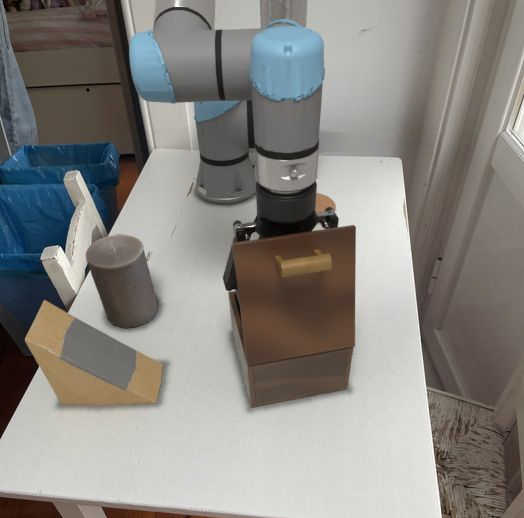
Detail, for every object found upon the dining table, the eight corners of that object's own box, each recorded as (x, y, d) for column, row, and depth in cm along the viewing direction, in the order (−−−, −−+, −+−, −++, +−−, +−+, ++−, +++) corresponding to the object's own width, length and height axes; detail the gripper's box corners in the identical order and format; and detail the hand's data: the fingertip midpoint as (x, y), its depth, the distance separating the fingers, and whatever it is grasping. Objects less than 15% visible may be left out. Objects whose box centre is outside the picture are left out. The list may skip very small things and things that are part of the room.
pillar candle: (105, 331, 87) (79, 264, 76) (108, 296, 94) (85, 230, 83) (159, 324, 88) (141, 257, 77) (158, 290, 95) (142, 224, 84)
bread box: (232, 334, 86) (228, 291, 79) (317, 319, 88) (320, 276, 81) (250, 408, 75) (247, 366, 68) (347, 389, 77) (353, 347, 70)
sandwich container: (157, 404, 76) (135, 338, 65) (60, 406, 76) (23, 340, 65) (164, 363, 82) (146, 296, 71) (74, 364, 82) (42, 298, 71)
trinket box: (330, 254, 101) (333, 214, 94) (279, 249, 103) (279, 209, 96) (335, 225, 108) (338, 186, 101) (288, 221, 110) (288, 183, 103)
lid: (231, 242, 59) (239, 258, 54) (353, 224, 61) (371, 237, 56) (247, 363, 68) (254, 385, 63) (353, 343, 70) (368, 364, 65)
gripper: (195, 209, 55) (215, 343, 71) (387, 182, 58) (364, 317, 74) (188, 178, 60) (208, 309, 76) (365, 154, 63) (348, 286, 79)
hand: (285, 313), depth 75 cm, fingers closed on cheese, 11 cm apart
